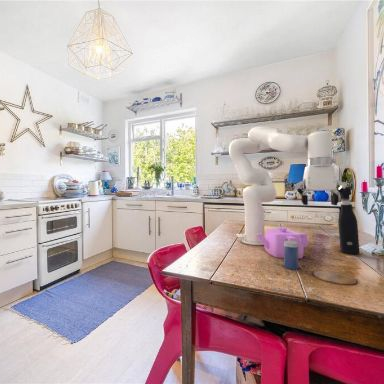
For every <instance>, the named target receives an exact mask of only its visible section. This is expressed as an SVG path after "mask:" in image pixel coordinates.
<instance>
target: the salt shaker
mask: <svg viewBox="0 0 384 384" xmlns="http://www.w3.org/2000/svg"><path fill="white" fill-rule="evenodd" d="M283 267H284V268H285V269H289V270H298V269H299V259H298V242H295V241H284V258H283Z"/></svg>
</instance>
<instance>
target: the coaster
mask: <svg viewBox="0 0 384 384" xmlns="http://www.w3.org/2000/svg"><path fill="white" fill-rule="evenodd" d="M313 276H314V277H315V278H317V279H319V280H321V281H324V282H327V283H331V284H336V285H337V284H338V285H346V286H348V285H349V286H351V285H355V284H356V283H357V279H355V278H354V277H353V276H350V275H347V274H344V273H340V272H337V271H329V270H317V271H314V272H313Z"/></svg>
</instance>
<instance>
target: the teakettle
mask: <svg viewBox="0 0 384 384" xmlns="http://www.w3.org/2000/svg"><path fill="white" fill-rule="evenodd" d="M257 236H258V237H259V239H260V240H261V242H262V243H263V244H264V245H263V248H264V250H265V252H267V254H269V255H270V256H271V257H273V258H277V259H284V241H295V242H298V260H299V259H303V257H304V249H305V248H307V247H309V242H308V241H309V240H308V234H307V233H305V232H297V231H294V230H291V229H288V227H284V226H279V227H278V228H275V229H274V228H270V229H269V228H268V229H266V230H265V234H264V236H263V235H262V234H261V233H260V234H257Z"/></svg>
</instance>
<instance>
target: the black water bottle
mask: <svg viewBox="0 0 384 384" xmlns="http://www.w3.org/2000/svg"><path fill="white" fill-rule="evenodd" d="M351 195H352V187H350V186H349V187H347V186H346V188H345V189H344V191H343V192H341V193H340V195H339V196H341V202H340V213H339V215H338V220H337V224H338V238H339V248H340V249H339V250H340V252H341V253H343V254H347V255H358V254H360V239H359V226H358V225H359V224H358V220H357V216H356V214H355V212H354V210H353V204H352V201H351V200H350V196H351Z"/></svg>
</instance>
